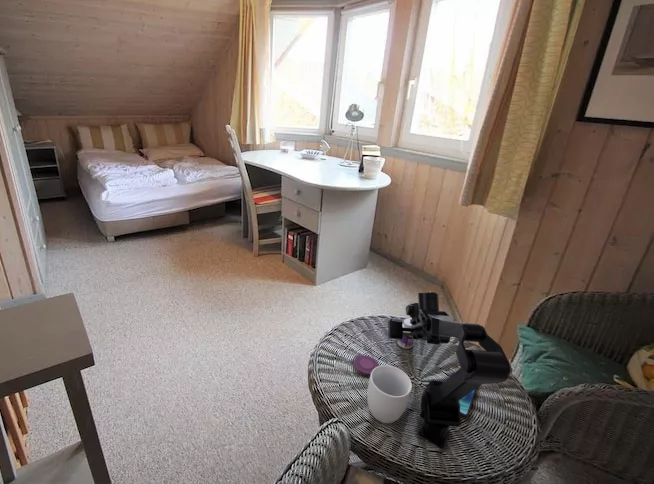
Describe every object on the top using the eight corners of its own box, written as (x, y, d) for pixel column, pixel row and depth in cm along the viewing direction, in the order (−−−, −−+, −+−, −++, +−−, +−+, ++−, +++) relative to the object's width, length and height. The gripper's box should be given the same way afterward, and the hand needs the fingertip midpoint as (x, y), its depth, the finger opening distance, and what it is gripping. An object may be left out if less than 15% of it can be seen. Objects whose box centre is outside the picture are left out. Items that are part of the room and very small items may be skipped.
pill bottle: (407, 351, 124) (413, 329, 120) (393, 343, 127) (398, 321, 123) (415, 344, 127) (420, 322, 123) (401, 336, 131) (406, 315, 127)
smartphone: (477, 383, 111) (467, 416, 100) (477, 385, 111) (466, 418, 100) (452, 371, 115) (439, 401, 104) (451, 373, 115) (439, 404, 104)
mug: (386, 384, 111) (394, 352, 105) (418, 409, 103) (428, 376, 97) (355, 410, 102) (362, 377, 96) (387, 438, 94) (396, 404, 89)
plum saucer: (371, 379, 112) (372, 377, 112) (349, 367, 116) (349, 364, 116) (382, 365, 118) (382, 362, 117) (360, 353, 122) (360, 351, 122)
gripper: (455, 304, 109) (436, 311, 124) (394, 299, 111) (382, 307, 125) (458, 342, 106) (438, 344, 120) (395, 336, 107) (382, 339, 121)
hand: (410, 333), depth 122 cm, fingers open, 9 cm apart
